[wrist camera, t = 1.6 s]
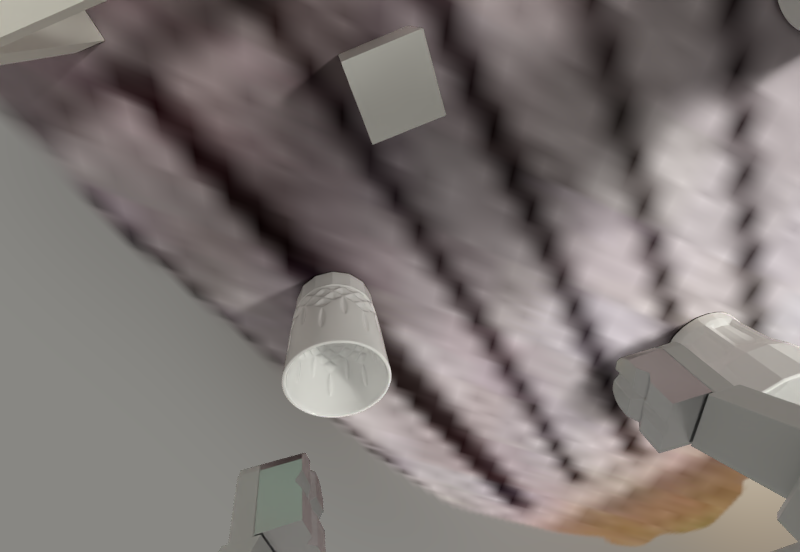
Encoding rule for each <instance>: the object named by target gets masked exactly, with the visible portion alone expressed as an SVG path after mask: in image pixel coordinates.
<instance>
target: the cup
mask: <svg viewBox="0 0 800 552" xmlns="http://www.w3.org/2000/svg"><path fill="white" fill-rule="evenodd" d="M672 342H678V343H680V344H682V345H684V346H685V347H686V348H687V349H689V350H690V351H691V352H692V353H694V354H695V355H696V356H697V357H699V358H700V359H701V360H702V361H704V362H705V363H706V364H707V365H709V366H710V367H711V368H712V369H714V370H715V371H716V372H717V373H719V374H720V375H721V376H722V377H724V378H725V379H726V380H727V381H729V382H730V383H731V384H732V385H734V386H736V385H743V386H746V387H749V388H751V389H754V390H757V391H760V392H763V393H766V394H769V395H772V396H775V397H778V398H780V399H783V400H786V401H789V402H792V403H795V404H798V405H800V347H798V346H796V345H793V344H790V343H788V342H784V341H780V340H776V339H771V338H769V337H767V336H765V335H763V334H761V333H760V332H758V331H756V330H754V329H752V328H750V327H748V326H746V325H744V324H742V323H740V322H739V321H738V320H737V319H735V318H734V317H733V316H731V315H729V314H727V313H724V312H716V313H710V314H707V315H704V316H701V317H698V318H696V319H694V320H693V321H691V322H690V323H688V324H687V325H685V326H684V327H683V328H682V329H681V330H680V331H679V332H678V333H677V334H676V335H675V336H674V337H673V339H672V341H671V342H670V343H672Z"/></svg>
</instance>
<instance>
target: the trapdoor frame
mask: <svg viewBox="0 0 800 552" xmlns="http://www.w3.org/2000/svg"><path fill="white" fill-rule="evenodd" d="M105 1H107V0H0V65H6V64H12V63H19V62H25V61H31V60H37V59H43V58H49V57H55V56H61V55H67V54H73V53H77V52H80V51H82V50H84V49H87V48H89V47H91V46H93V45H96V44H98V43H100V42H103V41H105V40H104V38H103V37H102V35H101V34H100V32H99V31H98V29H97V28H96V26H95V25H94V23H93V22H92V20H91V19H90V17H89V16H88V14H87V13H86V11H85V10H87V9H89V8H91V7H94V6H96V5H98V4H100V3H103V2H105Z"/></svg>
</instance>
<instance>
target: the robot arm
mask: <svg viewBox="0 0 800 552" xmlns="http://www.w3.org/2000/svg"><path fill="white" fill-rule="evenodd" d="M778 3H779V6H780V9H781V11H782V13H783V15H784V16H785V18H786V19H787V21H788V22H789V23H790V24H791V25H792V26H793V27H795V28H796V29H797V30H799V31H800V0H778ZM616 370H617V371H618V372H619V373H620V374H619V375H618V376H617V378H616V379H615V380H614V382H613V393H614V396H615V400H616V402H617V403H618V405H619V407H620V408H621V410H622V411H623V412H624V413H625V414H626V416H627V417H629V418H632V419H634V420H636V421H638V422H639V430H640V432H641V433H642V434H643V435H644V437H645V438H646V439H647V440H648V441H649V442H650V443H651V445H652V446H653V447H654V448H655V449H656V450H657V451H658V453H661V452H665V451H668V450H672V449H675V448H679V447H682V446H686V445H689V444H692V445H691V446H692V447H694V448H696V449H698V450H700V451H701V452H703V453H705V454H707V455H709V456H710V457H712V458H714V459H716V460H718V461H719V462H721V463H723V464H725V465H727V466H728V467H730V468H732V469H734V470H736V471H737V472H739V473H741V474H743V475H745V476H746V477H748V478H750V479H752V480H754V481H755V482H757V483H759V484H761V485H763V486H764V487H767V488H768V489H770V490H772V491H773V492H775V493H777V494H779V495H781V496H782V497H784V498H786V500H785V502H784V503H783V505H782V507H781V508H780V510H779V511H778V514H777V515H778V516H777V518H778V519H777V520H778V521H779V522H780V523H781V524H782V525H783V526H784V527H785V528H786V529H787V530H788V532H789V533H791V535H792V536H793V537H794V538H795V539H796V540H797V541H798V542H797V543H794V544H792V545H789V546H786V547H783V548H780V549H777V550H775V551H772V552H800V405H798V404H795V403H792V402H789V401H786V400H783V399H780V398H778V397H775V396H772V395H769V394H766V393H763V392H760V391H757V390H754V389H751V388H749V387H746V386H743V385H736V386H734V385H732V384H731V383H730V382H729V381H727V380H726V379H725V378H724V377H722V376H721V375H720V374H719V373H717V372H716V371H715V370H714V369H712V368H711V367H710V366H709V365H707V364H706V363H705V362H704V361H702V360H701V359H700V358H699V357H697V356H696V355H695V354H694V353H692V352H691V351H690V350H689V349H687V348H686V347H685V346H684V345H682V344H680V343H678V342H672V343H668V344H665V345H662V346H658V347H656V348H654V347H653V348H650V349H647V350H644V351H641V352H637V353H634V354H631V355H628V356H625V357H622V358H620V359H619V360H618V361H617V363H616ZM322 513H323V498H322V492H321V486H320V483H319V479H318V477H317V475H316V472H315V471H312V470H310V460H309V458H308V456H307V455H306V453H302V454H298V455H295V456H291V457H287V458H284V459H280V460H276V461H273V462H269V463H265V464H261V465H258V466H255V467H251V468H247V469H244V470H241V471H240V474H239V476H238V478H237V484H236V492H235V499H234V506H233V513H232V520H231V527H230V535H229V542H228V544H227V545H225V546H222V547H221V548H220V550H219V551H218V552H326V549H325V530H324V528H323V526H322V525H321V523H320V521H319V519H320V517H321V515H322Z"/></svg>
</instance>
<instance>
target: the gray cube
mask: <svg viewBox="0 0 800 552" xmlns="http://www.w3.org/2000/svg"><path fill="white" fill-rule="evenodd" d="M338 56H339V58H340V61H341V64H342V66H343V69H344V72H345V74H346V77H347V79H348V82H349V85H350V87H351V90H352V92H353V95H354V98H355V100H356V103H357V106H358V108H359V111H360V113H361V116H362V119H363V121H364V124H365V126H366V129H367V132H368V134H369V137H370V139H371V142H372V145H373V144H376V143H378V142H381V141H383V140H386V139H388V138H391V137H393V136H396V135H398V134H401V133H403V132H406V131H408V130H411V129H413V128H416V127H418V126H421V125H423V124H426V123H428V122H431V121H433V120H436V119H438V118H441V117H443V116H446V113H445V109H444V105H443V101H442V98H441V94H440V90H439V86H438V83H437V79H436V75H435V71H434V67H433V64H432V60H431V56H430V52H429V49H428V45H427V41H426V37H425V34H424V30H423V28H420V27H414V26H406V27H403V28H401V29H398V30H396V31H394V32H391V33H389V34H386V35H384V36H382V37H379V38H377V39H374V40H372V41H370V42H367V43H365V44H362V45H360V46H358V47H355V48H353V49H350V50H348V51H346V52H343V53H341V54H338Z"/></svg>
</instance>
